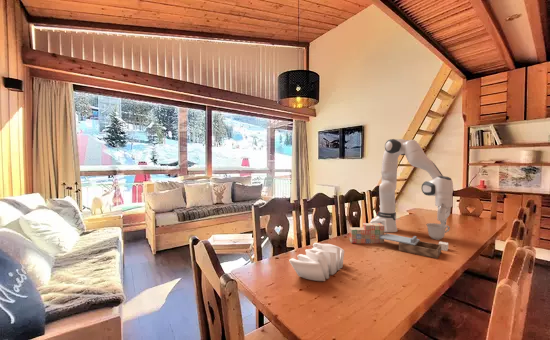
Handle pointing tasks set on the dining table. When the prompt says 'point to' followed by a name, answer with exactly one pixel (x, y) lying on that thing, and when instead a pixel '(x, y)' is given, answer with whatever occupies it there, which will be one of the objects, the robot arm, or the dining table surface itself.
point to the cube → (443, 246)
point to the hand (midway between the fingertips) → (443, 225)
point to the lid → (400, 239)
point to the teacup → (436, 230)
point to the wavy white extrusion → (319, 262)
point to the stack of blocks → (367, 233)
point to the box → (422, 249)
